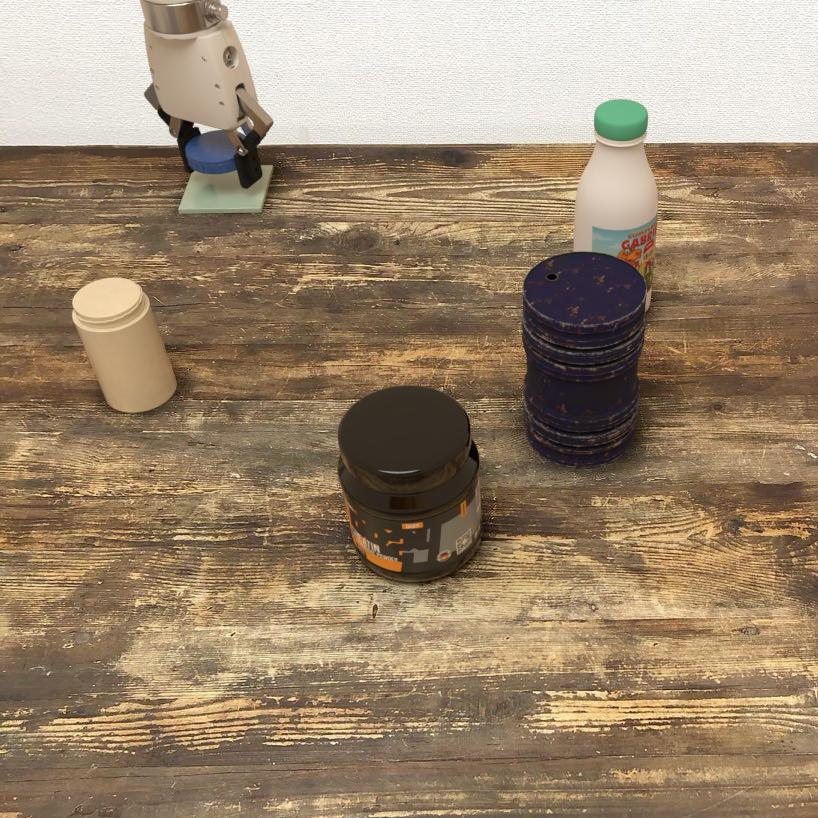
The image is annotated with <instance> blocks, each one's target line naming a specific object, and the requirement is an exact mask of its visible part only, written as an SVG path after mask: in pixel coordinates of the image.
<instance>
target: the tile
mask: <svg viewBox="0 0 818 818" xmlns="http://www.w3.org/2000/svg"><path fill="white" fill-rule="evenodd" d="M261 169H262V173H263V175H262V178H260V179H259V180H258V181H257V182H256V183H254V184H253V185H252V186H251V187H249V188H248V189H245V188H242V187H241V185H240V181H239V177H238V173H237V170H236V171H233V172H229V173H225V174H204V173H200V172H197V171H194V172H193V173H190V175H189V178H188V179H189V180H188V181H187V184H186V186H185V187H186V188H185V189H184V193H183V195H182V197H181V201H180V202H179V206H178V209H177V211H178V213H179V214H180V215H192V214H198V215H199V214H201V215H202V214H258V213H259V214H261V213H263V209H264V205H265V202H266V199H267V195H268V191H269V188H270V184H271V181H272V176H273V174H274V169H275V168H274V165H273V164H261Z"/></svg>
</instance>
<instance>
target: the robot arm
mask: <svg viewBox="0 0 818 818" xmlns="http://www.w3.org/2000/svg"><path fill="white" fill-rule="evenodd" d="M221 2H222V1H221V0H139V4H140V7H141V10H142V15H143V18H144V21H143V35H144V45H145V51H146V57H147V63H148V67H149V72H150V76H151V80H152V82H151V83H150V85H149V86H148V87H147V88H146V89H145V91H144V92H143V96H144V98H145V99H146V101H147V102H148V103H149V104H150V105H151V106H152V108H153V109H154V110H155V111H156V113H157V115H158V117H159V118H160V119H161V120H162V121H163V123H165V125H166V126H167V127H168V133H169V135H170V136H171V137H172V138H174V139H176V143H177V147H178V151H179V154H180V158H181V162H182V164H183V168H184V171H185V173H187V174H192V173H193V172H194V171H195V170H194V169H192V168H191V167H190V165H189V164H188V161H187V157H186V151H185V148H186V145H187V143H188V142H189V141H190V140H191V139H193V138H194V137H196V136H198V135H200V134H202V133H201V132H202V131H201V129H200V127H199V126H195V124H197V125H198V124H199V125H201V126H202V125H203V126H206V127H210V128H212V129H213V128H214V129H217V130H224V131H225V132H226V134H227V136H228V137H229V139H230V141H231V142H232V144H233V146H234V147H235V149H236V151H237V153H236V154H235V155H234V161H235V165H236V169H237V173H238V177H239V181H240V185H241V187H242V188H245V189H248V188H249V187H251V186H252V185H253V184H254V183H256V182H257V181H258V180H259V179H260V178H262V175H263V173H262V169H261V165H262V164H261V161H260V155H259V151H258V146H259V145H260V144H261V143H262V141H263V140H264V139H265V137H266V136H267V134H268V132H269V131H270V130H271V128H272V126H274V122H275V121H274V119H273V118H272V117H271V115H269V114H268V112H267V111H266V110H265V109H264V108H263V107H262V106H261V105H260V104H259V98H258V95H257V90H256V87H255V82H254V80H253V76H252V73H251V69H250V66H249V61H248V59H247V56H246V53H245V51H244V48H243V44H242V42H241V40H240V38H239V35H238V33H237V31H236V29H235V26H234V25H233V22H232V21H231V20H229V19H228V17H229V8H228V6H226V5H225V4H222V3H221ZM239 128H240V129H241V131H242V132H243V134H244V135H245V136H246V137H245V138H244V139H242V137H241V136H240V134H239V132H240V131H238V129H239Z"/></svg>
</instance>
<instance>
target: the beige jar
mask: <svg viewBox="0 0 818 818" xmlns="http://www.w3.org/2000/svg"><path fill="white" fill-rule="evenodd" d="M71 303H72V308H73V309H72V313H71V318H72V319H71V320H72V322H73V324H74V327H75V329H76V331H77V334H78V336H79V339H80V341H81V343H82V346H83V349H84V351H85V353H86V355H87V358H88V360H89V364H90V365H91V369H92V371H93V373H94V375H95V378H96V380H97V382H98V384H99V385H98V386H99V387H100V390H101V392H102V394H103V397H104V400H105V401H106V403H107V404H108V406H110V407H111V408H112V409H114V410H115V411H118V412H122V413H127V414H128V413H129V414H131V413H132V414H135V413H137V414H138V413H143V412H147V411H151V410H154V409H156V408H158V407H160V406H162V405H163V404H165V403H167V402H168V401H169V400H170V399H172V397H173V395H174V394H175V392H176V391H177V385H178V382H177V381H178V380H177V378H176V375H175V372H174V369H173V366H172V362H171V360H170V357H169V353H168V351H167V348H166V345H165V343H164V339H163V337H162V334H161V331H160V329H159V325H158V322H157V319H156V315H155V313H154V310H153V306H152V304H151V301H150V298H149V296H148V295H147V294H146V292H144V291H143V288H142V287H141V286H140V284H137V283H136V282H135V281H133V280H131V279H129V278H125V277H106V278H100V279H97V280H94V281H92V282H90V283H87V284H85V285H84V286H82V287H81V288H80V289H79V290H78V291H77V292H76V293H75V294H74V296H73V298H72V301H71Z"/></svg>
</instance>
